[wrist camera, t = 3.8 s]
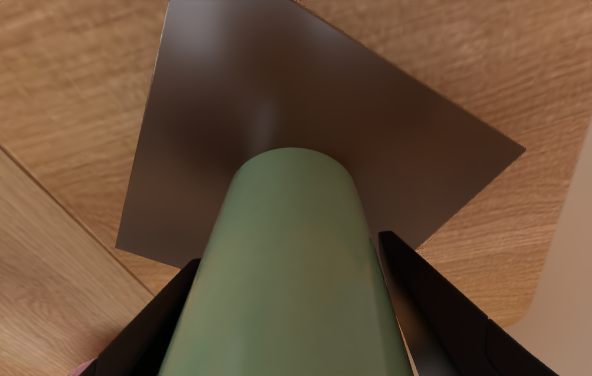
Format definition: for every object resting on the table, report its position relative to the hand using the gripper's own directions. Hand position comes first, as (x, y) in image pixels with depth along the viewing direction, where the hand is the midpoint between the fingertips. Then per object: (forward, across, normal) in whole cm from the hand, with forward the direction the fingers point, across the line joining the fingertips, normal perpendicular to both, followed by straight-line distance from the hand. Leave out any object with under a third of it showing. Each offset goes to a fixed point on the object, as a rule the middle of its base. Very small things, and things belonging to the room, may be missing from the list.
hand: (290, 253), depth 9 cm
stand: (+7, 0, 0) cm, 7 cm away
